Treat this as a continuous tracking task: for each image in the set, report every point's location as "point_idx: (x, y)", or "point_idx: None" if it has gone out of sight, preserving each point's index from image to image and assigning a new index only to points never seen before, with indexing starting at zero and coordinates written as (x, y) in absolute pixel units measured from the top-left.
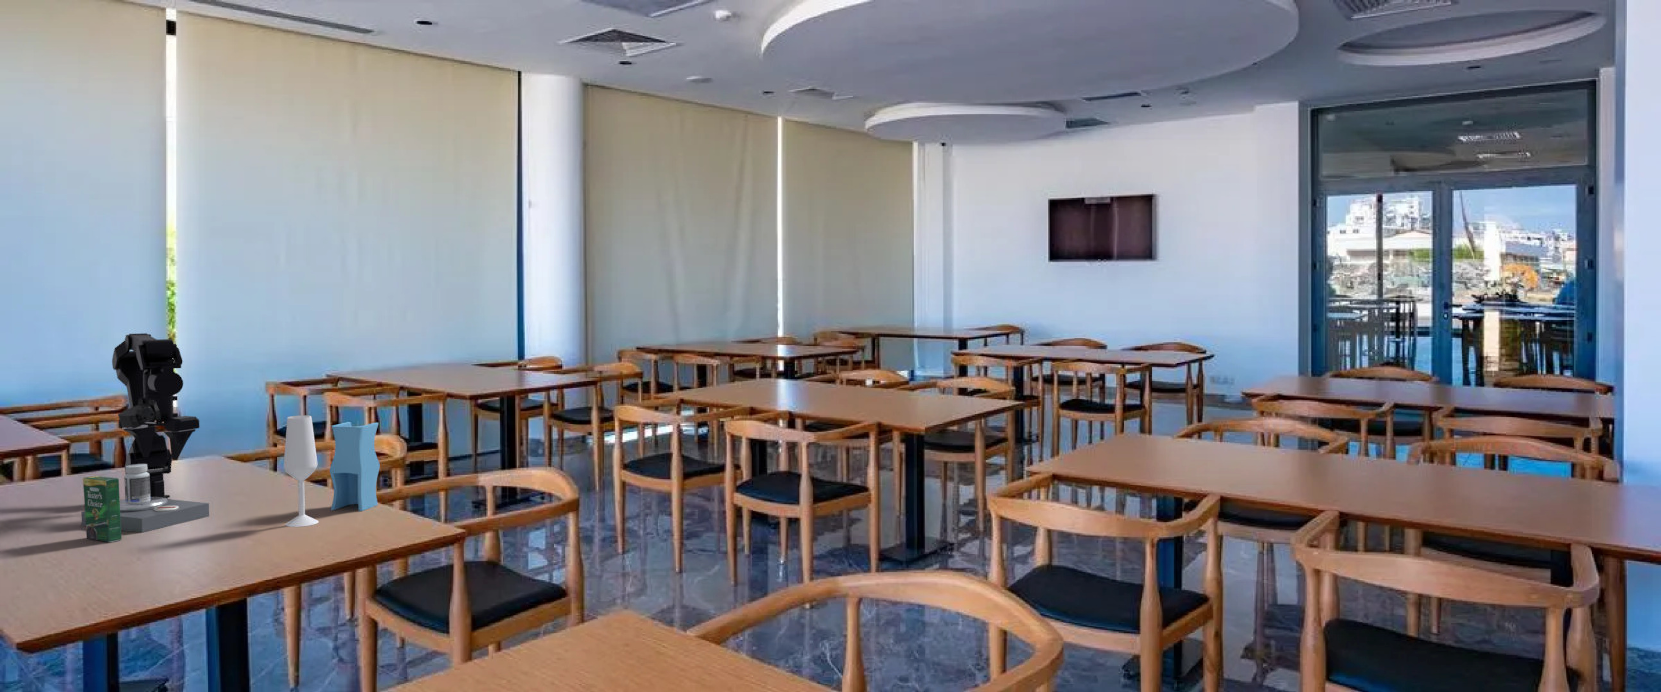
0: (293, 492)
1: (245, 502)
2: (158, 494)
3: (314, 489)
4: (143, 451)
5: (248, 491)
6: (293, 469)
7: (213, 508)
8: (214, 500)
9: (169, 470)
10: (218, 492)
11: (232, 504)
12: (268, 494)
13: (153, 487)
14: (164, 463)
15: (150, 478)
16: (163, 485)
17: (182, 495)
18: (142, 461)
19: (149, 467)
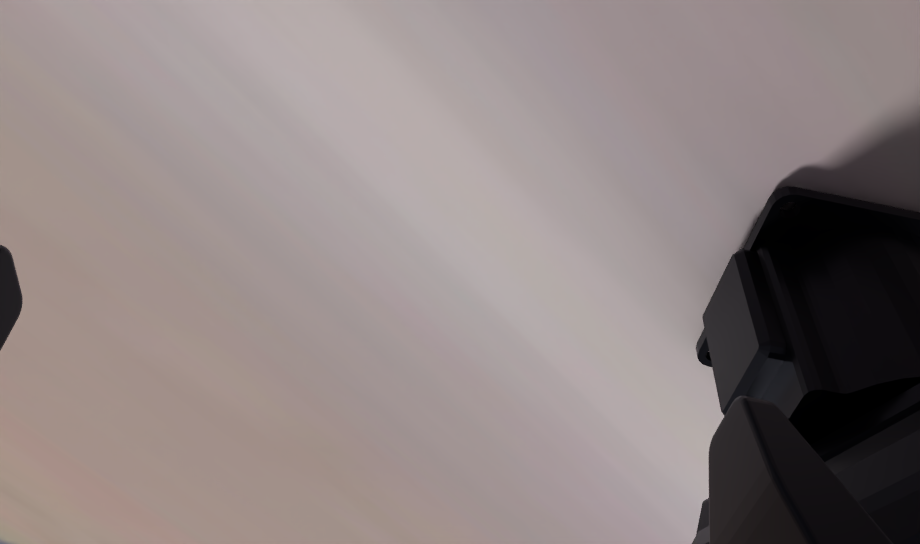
0: (64, 490)
1: (48, 272)
2: (725, 292)
3: (38, 540)
4: (771, 477)
5: (325, 502)
6: None
7: (57, 77)
8: (307, 304)
9: (702, 518)
10: (480, 480)
11: (66, 212)
12: (142, 451)
13: (762, 312)
14: (700, 540)
15: (809, 372)
16: (717, 378)
17: (656, 409)
18: (913, 476)
19: (836, 457)
